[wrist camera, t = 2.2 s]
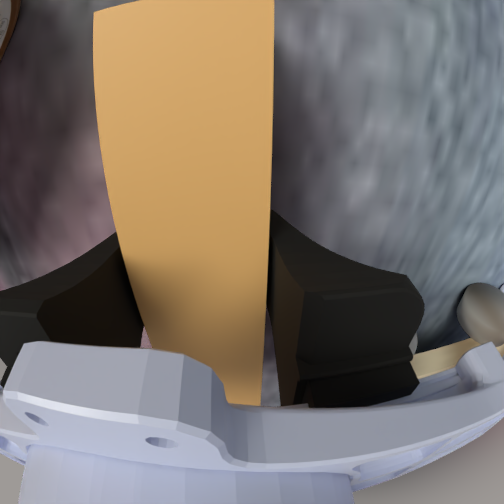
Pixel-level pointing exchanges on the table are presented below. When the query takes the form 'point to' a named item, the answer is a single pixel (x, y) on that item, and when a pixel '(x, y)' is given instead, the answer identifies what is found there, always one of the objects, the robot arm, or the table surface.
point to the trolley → (466, 330)
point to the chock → (192, 172)
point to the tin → (7, 21)
